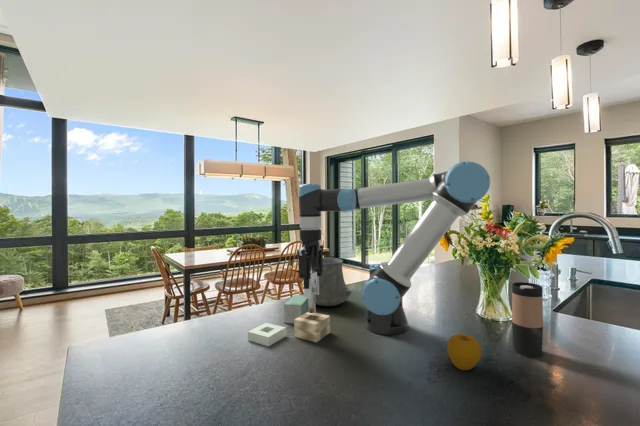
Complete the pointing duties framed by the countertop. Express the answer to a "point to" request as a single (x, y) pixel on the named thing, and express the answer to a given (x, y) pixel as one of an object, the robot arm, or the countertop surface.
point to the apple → (464, 351)
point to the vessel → (332, 284)
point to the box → (295, 308)
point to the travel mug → (527, 319)
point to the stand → (266, 334)
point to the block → (312, 326)
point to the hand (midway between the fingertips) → (311, 295)
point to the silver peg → (313, 293)
